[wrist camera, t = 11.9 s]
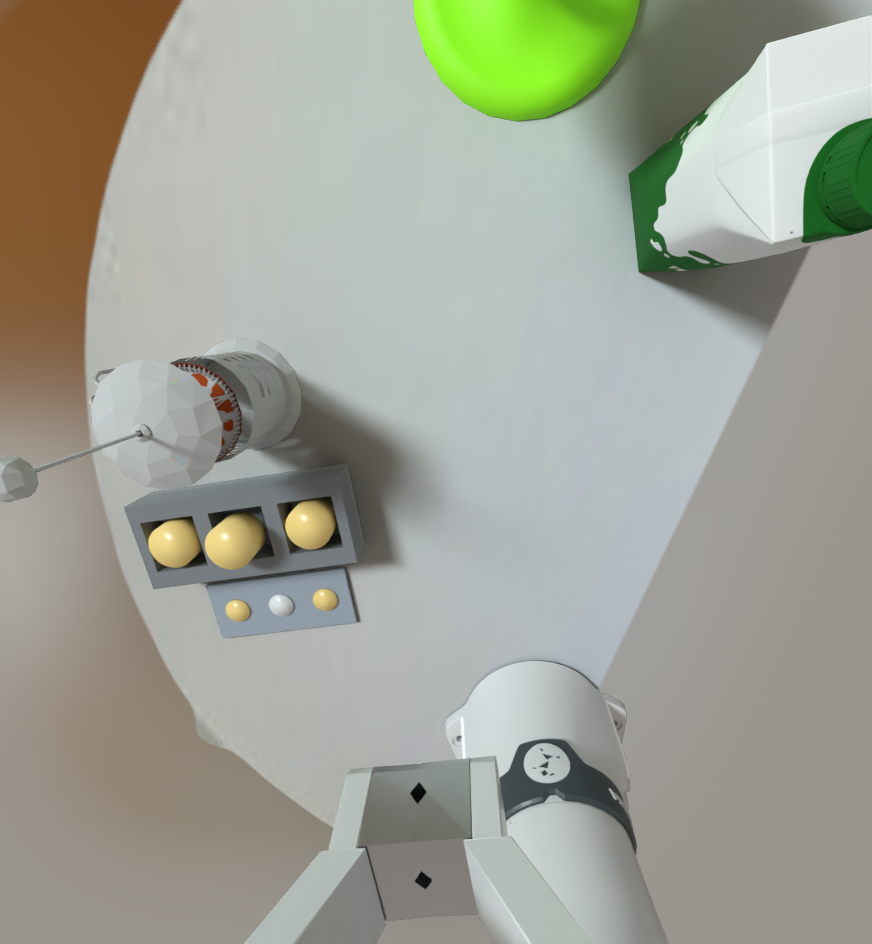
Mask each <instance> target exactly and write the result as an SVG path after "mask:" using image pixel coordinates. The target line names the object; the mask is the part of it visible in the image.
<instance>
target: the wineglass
mask: <svg viewBox="0 0 872 944" xmlns="http://www.w3.org/2000/svg"><path fill="white" fill-rule="evenodd" d="M413 2H414V14H415V22H416V25H417V29H418V32H419V35H420V38H421V41H422V45H423V48H424V51H425V54H426V56H427V57H428V59H429V61H430V62H431V64H432V66H433V67H434V69H435V71H436V72H437V74H438V76H439V78H440V79H441V81H442V82H443V83H444V84H445V85H446V86H447V87H448V88H449V89H450V90H451V91H452V92H453V93H454V94H455V95H456V96H457V97H458V98H459V99H460V100H461V101H462V102H463V103H465V104H467V105H469V106H471V107H473V108H475V109H477V110H478V111H480V112H482V113H484V114H486V115H488V116H491V117H497V118H502V119H507V120H512V121H523V120H531V119H540V118H546V117H548V116H550V115H553V114H555V113H557V112H560V111H562V110H565V109H567V108H569V107H572V106H573V105H574V104H576V103H577V102H578V101H579V100H581V99H582V98H583V97H585V96H586V95H587V94H588V93H590V92H591V91H592V90H593V89H595V88H596V87H597V86H598V85H599V84H600V82H601V81H602V80H603V79H604V77H605V76H606V75H607V74H608V72H609V71H610V70H611V68H612V67H613V66H614V65H615V63H616V62H617V61H618V60H619V57H620V55H621V53H622V51H623V49H624V47H625V45H626V43H627V41H628V39H629V37H630V34H631V32H632V30H633V28H634V25H635V21H636V17H637V13H638V9H639V4H640V0H413Z"/></svg>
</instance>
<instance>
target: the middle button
mask: <svg viewBox="0 0 872 944" xmlns="http://www.w3.org/2000/svg"><path fill="white" fill-rule="evenodd" d="M265 541H266V530H265V527H264V525H263V523H262V522H261V521H260V520H259V519H258V518H257V517H256V516H254V515H252V514H250V513H247V512H235V513H232V514H230V515H229V516H227V517H226V518H225V519H224V520H223V521H221V522H220V523H219V524H218V525H217V526H216V527H214V528H213V529H212V530H211V531H210V532H209V533H208V534H207V536H206V539H205V550H206V553H207V555H208V557H209V558H210V559H211V561H212V562H214V563H215V564H216V565H218V566H219V567H222V568H224V569H229V570H236V569H240V568H242V567H244V566H246V565H247V564H248V563H249V562H250V561H251V559H252V558H253V557H254V556H255V555H256V554H257V552H258V551H259V550H260V549H261V548H262V546H263V545H264V543H265Z"/></svg>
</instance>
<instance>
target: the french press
mask: <svg viewBox="0 0 872 944" xmlns="http://www.w3.org/2000/svg"><path fill="white" fill-rule="evenodd" d="M197 357H199V358H197ZM197 357H189V358H191V359H189V358H183V359H179V360H177V361H174V362H172V363H165V362H159V361H152V360H146V359H141V360H138V361H134V362H130V363H126V364H123V365H119V366H118V367H116V368H115V369H109V370H103V371H99V372H97V373H95V374H94V375H93V376H92V378H93V380H94V382H95V383H96V385H97V386H98V389H97V392H96V394H95V395H94V396H93V397H91V399H90V401H89V403H90V405H91V409H92V424H93V432H94V434H95V436H96V438H97V440H98V443H99V446H96V447H93V448H91V449H88V450H85V451H82V452H79V453H76V454H73V455H70V456H67V457H65V458H62V459H59V460H56V461H53V462H50V463H48V464H45V465H41V466H39V467H36V468H32V466H31V464H30V463H28V462H26V461H25V460H23V459H21V458H20V457H14V456H6V457H1V458H0V501H2V502H11V501H14V500H18V499H22V498H26V497H29V496H31V495H32V494H33V493H34V492H35V491H36V488H37V486H38V479H37V474H36V473H37V472H40V471H42V470H45V469H48V468H51V467H53V466H56V465H59V464H61V463H65V462H67V461H70V460H73V459H75V458H78V457H81V456H84V455H87V454H90V453H92V452H95V451H98V450H101V449H102V451H103V453H104V455H105V456H106V457H107V458H108V459H109V460H110V461H111V462H112V463H113V464H114V465H115V467H116V468H117V469H118V470H119V471H120V472H121V473H122V474H123V475H125V476H127V477H129V478H131V479H133V480H135V481H137V482H139V483H140V484H142V485H144V486H146V487H153V488H160V489H167V490H174V489H177V488H181V487H185V486H189V485H192V484H194V483H195V482H197V481H198V480H199V479H200V478H202V477H203V476H204V475H205V474H206V473H208V472H209V471H210V470H211V469H212V467H213V465H214V463H217V462H220V461H224V460H228V459H231V458H233V457H234V456H236V455H238V454H240V453H241V452H243V451H244V450H245V449H254V450H258V449H261V448H265V447H269V446H273V445H276V444H278V443H279V442H280V441H281V440H283V439H284V438H285V437H286V436H288V435H289V434H290V433H291V432H292V430H293V428H294V426H295V424H296V422H297V420H298V418H299V417H300V415H301V400H302V391H301V388H300V385H299V382H298V379H297V377H296V374H295V371H294V370H293V368H292V367H291V366H290V365H289V364H288V362H287V361H286V360H285V359H284V357H283V356H282V355H281V354H280V353H279V352H277V351H276V350H274V349H272V348H271V347H269V346H267V345H265V344H264V343H262V342H260V341H255V340H248V339H241V338H235V339H232V340H228V341H225V342H221V343H218V344H216V345H215V346H213V347H212V348H211V349H210V350H209V351H208V352H207V353H206V354H204V355H203V356H197ZM195 358H197V359H195ZM187 359H189V360H187ZM193 359H195V360H193ZM185 360H187V361H185ZM106 373H110V374H109V375H108V376H107V377H106V378H105V379H104V380H102V381H101V382H99V381H98V379H97V378H98V377H99V376H100V375H102V374H106ZM234 447H240V448H234ZM239 449H241V450H239ZM232 450H238V451H233V452H231V451H232ZM236 452H238V453H236ZM232 453H235V454H232ZM227 454H231V455H228V456H226V455H227Z"/></svg>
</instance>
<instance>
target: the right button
mask: <svg viewBox="0 0 872 944" xmlns="http://www.w3.org/2000/svg"><path fill="white" fill-rule="evenodd" d="M337 526H338V523H337V519H336V514H335V510H334V506H333V502H332V500H331V499H330V498H329V497H320V498H313V499H306V500H301V501H300V502H299V503H298V505H297V506H296V507H295V508H294V509H293V510H292V511H291V513H290V514H289V515H288V517H287V519H286V524H285V528H286V532H287V535H288V537H289V538H290V540H291V541H292V542H293V543H294V544H296V545H297V546H299V547H301V548H304V549H317V548H320V547H322V546H324V545H325V544H326V543H327V542H328V541H329V539H330V538H331V536H332V534H333V532H334V531H335V529H336V527H337Z"/></svg>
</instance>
